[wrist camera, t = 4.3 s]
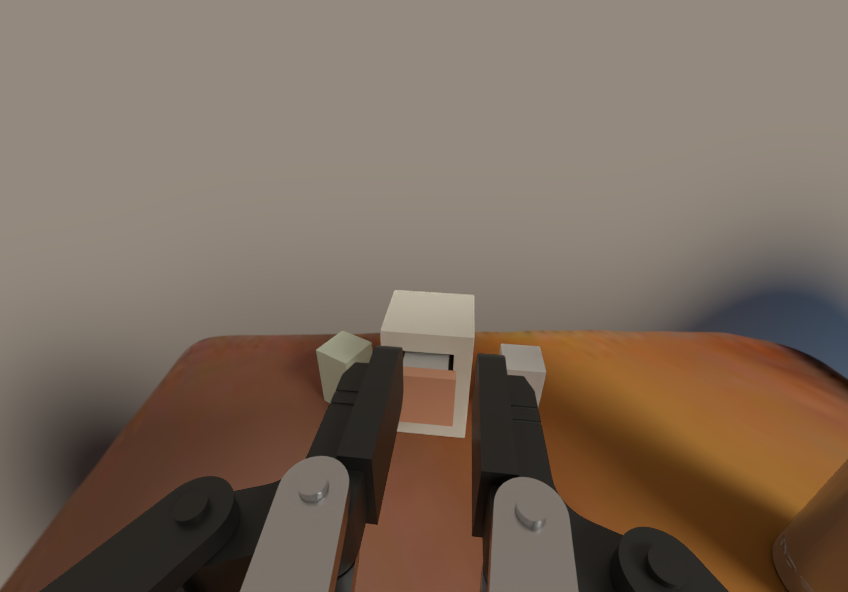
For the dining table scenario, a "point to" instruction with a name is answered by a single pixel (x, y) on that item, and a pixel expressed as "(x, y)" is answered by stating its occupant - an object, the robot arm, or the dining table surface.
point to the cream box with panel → (435, 343)
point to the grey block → (526, 365)
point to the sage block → (340, 359)
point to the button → (428, 389)
